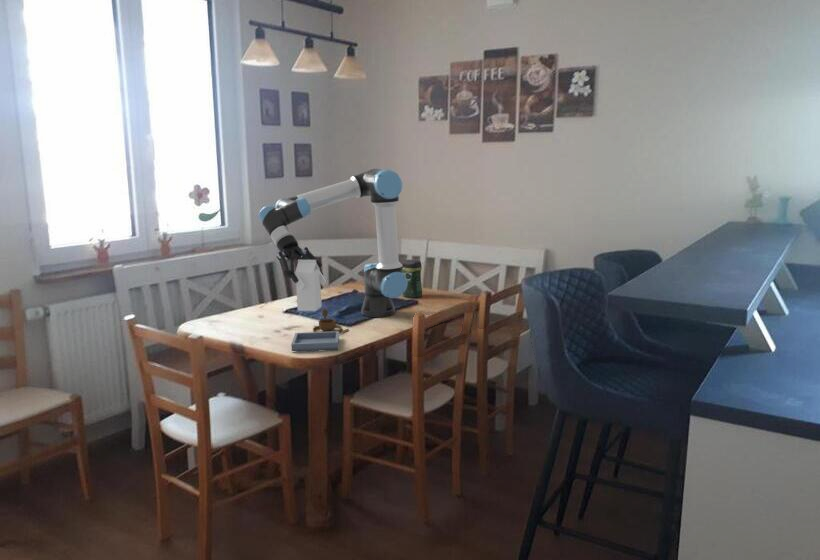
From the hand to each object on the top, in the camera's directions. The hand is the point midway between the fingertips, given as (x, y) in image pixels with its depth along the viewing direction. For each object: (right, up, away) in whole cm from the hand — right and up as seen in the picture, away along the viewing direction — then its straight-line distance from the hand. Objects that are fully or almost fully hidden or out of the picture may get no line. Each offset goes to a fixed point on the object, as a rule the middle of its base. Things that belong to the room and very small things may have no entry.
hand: (313, 285), depth 241 cm
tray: (0, -23, +6) cm, 24 cm away
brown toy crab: (+3, -19, +29) cm, 35 cm away
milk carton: (-2, -9, +4) cm, 10 cm away
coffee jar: (+37, -6, +84) cm, 92 cm away
